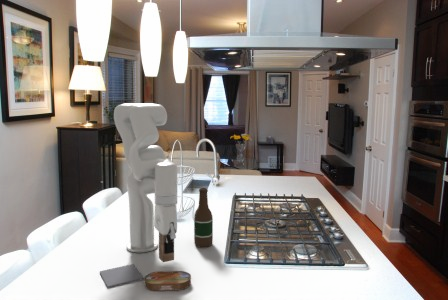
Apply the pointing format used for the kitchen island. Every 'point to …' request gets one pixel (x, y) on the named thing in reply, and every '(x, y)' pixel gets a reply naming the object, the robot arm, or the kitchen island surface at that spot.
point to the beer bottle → (203, 222)
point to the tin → (167, 280)
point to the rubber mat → (121, 275)
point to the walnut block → (162, 255)
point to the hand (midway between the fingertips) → (166, 249)
